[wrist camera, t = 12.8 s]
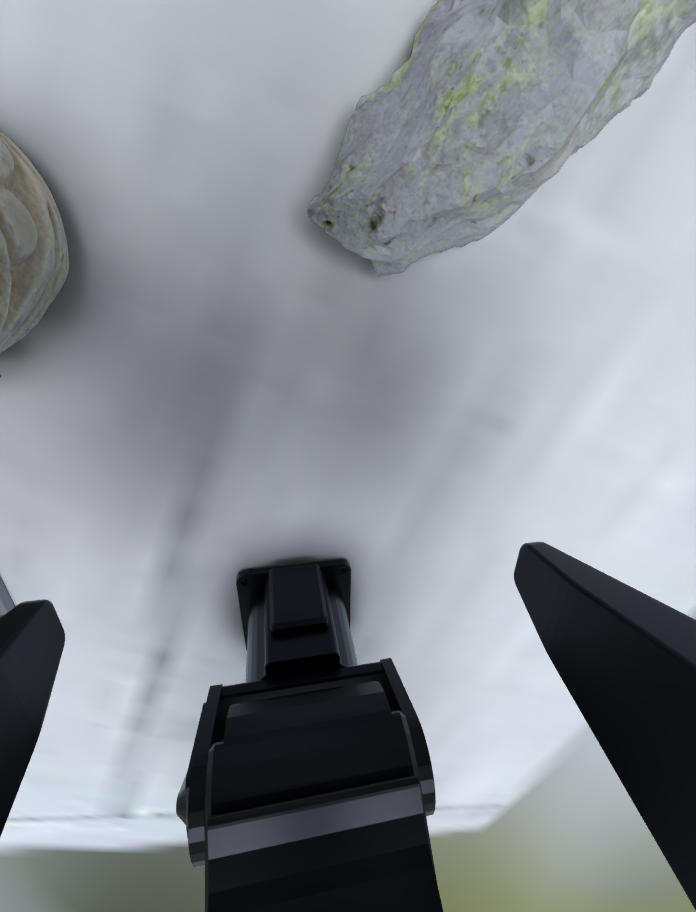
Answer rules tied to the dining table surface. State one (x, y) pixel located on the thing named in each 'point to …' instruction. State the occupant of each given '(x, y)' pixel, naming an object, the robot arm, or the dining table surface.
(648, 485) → the dining table surface
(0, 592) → the grey bracket bar
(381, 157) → the rock
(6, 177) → the carving
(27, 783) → the dining table surface
